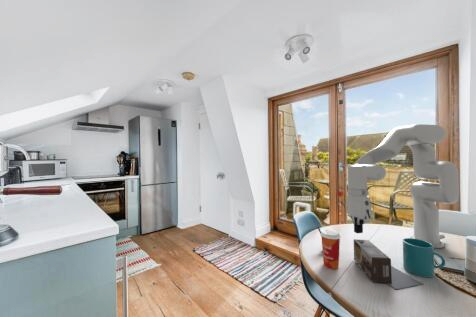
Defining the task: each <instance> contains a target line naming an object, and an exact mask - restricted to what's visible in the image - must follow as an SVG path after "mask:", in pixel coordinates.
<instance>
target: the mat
mask: <svg viewBox="0 0 476 317" xmlns="http://www.w3.org/2000/svg"><path fill="white" fill-rule="evenodd" d="M355 264H356V265H357V266H359V265H358V264H357V262H356V263H355ZM391 276H392V284H390V283H385V284H386V285H388V286H390V287H391V288H392V289H394V290H402V289H407V288H412V287H417V286H422V285H424V282H421V281H420V280H418V279H416V278H414V277H413V276H411V275H409V274H407V273H405V272H403V271H401V270H400V269H398V268H396V267H394V266H392V265H391Z"/></svg>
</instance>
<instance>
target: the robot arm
mask: <svg viewBox="0 0 476 317" xmlns="http://www.w3.org/2000/svg"><path fill="white" fill-rule="evenodd" d="M446 136H447V134H446V130H445V128H444V127H442V126H441V125H440V124H439V125H438V124H421V123H420V124H419V123H418V124H417V123H415V124H411V125H410V124H409V125H404V126H403V125H401V126H397V127H394V128H393V129H391V131H389V133H387V135H386V137H384V138H383V140H382V141H381V142H380V144H379V145H378V146H376V147H375V148H372V149H371V150H369V151H367V152H366V153H365V154H362V155H361V156H360V157H359V158H357V160H356V161H355V162H354V163H353V164H351V165H349V166H348V167H347V195H346V196H347V197H346V204H345V205H346V210H345V211H346V213H347V216H348V218H350V219H351V220H352V223H353V232H354V233H355V234H363V232H364V228H363V227H364V225H365V223H366V224H368V223H370V219H372V218H373V211H372V203H371V202H372V201H371V199H370V198H371V197H370V196H369V194H370V193H369V191H368V181H372V182H377V181H382V180H383V179H385V178H386V175H387V171H386V168H385V167H384V166H382V165H380V164H378V163H381V162H386V161H389V160H392V159H394V158H396V157H397V156H398V155H399V153H400V152H401V151H402V150H403V148H404V147H405V146H407V147H409V149H410V150H411V152H412V161H413V164H412V165H413V166H412V167H413V175H414V176H415V177H416V178H417V179H421V180H429V181H416V182H413V183H412V184H411V185H410V189H409V190H410V194H411V199H412V208H413V235H412V236H410V237H409V238H414V239H419V240H423V241H426V242H429V243H431V244H432V245H433V246H434V249H442V248H444V247H445V243H444V242H442V241H441V240H442V239H443V240H444V239H446V236H445V235H444V234H440V211H439V208H438V205H436V203H439V204H445V205H454V204H456V203H457V202H458V200H459V197H460V186H459V185H460V183H459V180H460V178H459V169H458V167H457V166H456V164H455V163H454V162H452V161H448V160H437V155H436V150H435V148H434V146H432V145H431V144H438V143H441V142H443V141H444V139H445V138H446ZM432 181H439V182H432Z"/></svg>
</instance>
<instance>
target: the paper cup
mask: <svg viewBox="0 0 476 317" xmlns="http://www.w3.org/2000/svg"><path fill="white" fill-rule="evenodd" d="M320 236H321V248H322V257H323V258H322V259H323V265H324V267H326V268H327V269H329V270H337V269H339V267H340V266H339V265H340V264H339V262H340V244H341V243H340V241H341V240H340V239H341V235H340V232H338V231H337V230H334V229H322V230H321V234H320Z"/></svg>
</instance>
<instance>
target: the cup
mask: <svg viewBox="0 0 476 317" xmlns="http://www.w3.org/2000/svg"><path fill="white" fill-rule="evenodd" d="M435 256H437V257H439V258H440V259H441V263H440V264H435ZM402 260H403V262H402V265H403V268H404V270H406V271H407V272H409V273H410V274H412V275H416V276H419V277H423V278H432V277H434V276H435V269H442V268H443V267H445V266H446V259H445V258H444V256H443V255H442V254H440V253H438V252H437V251H435V248H434V246H433V245H432V244H431V243H429V242H426V241H423V240H419V239H414V238H410V237H406V238H403V239H402Z"/></svg>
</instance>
